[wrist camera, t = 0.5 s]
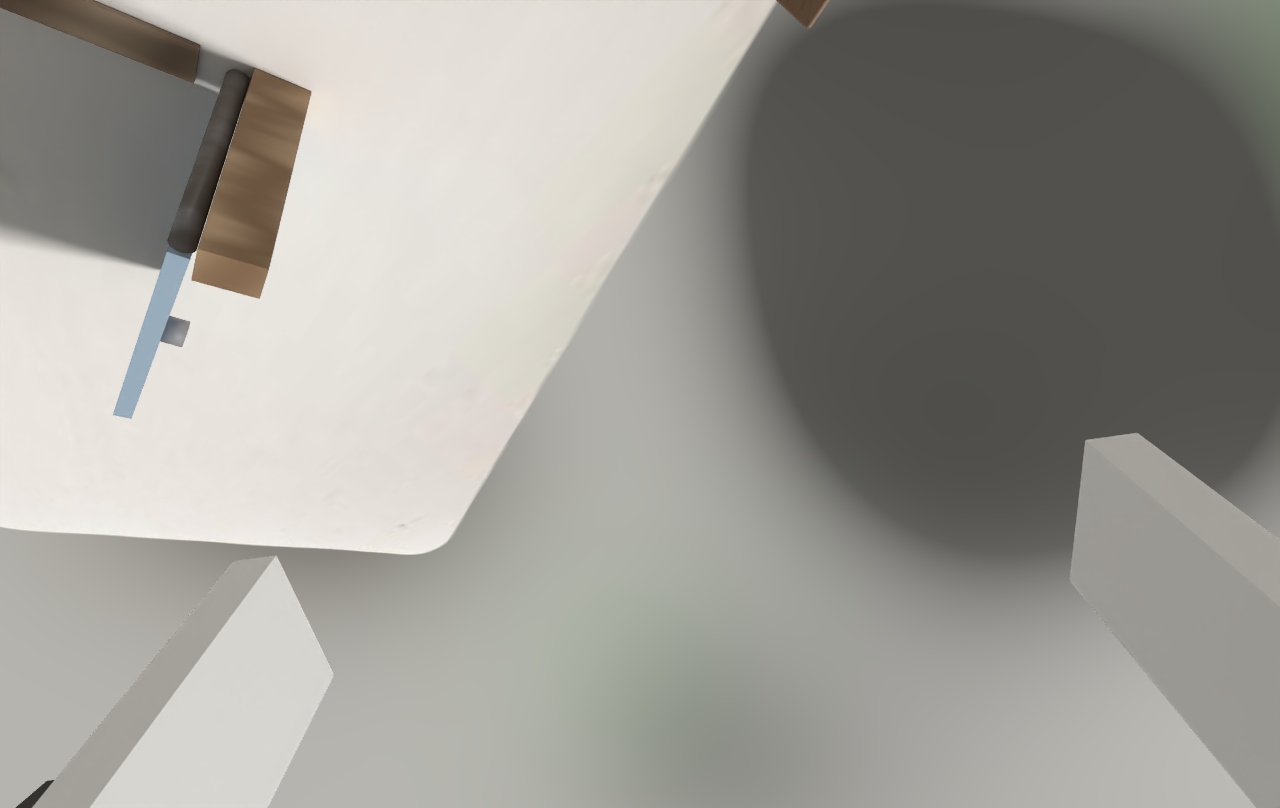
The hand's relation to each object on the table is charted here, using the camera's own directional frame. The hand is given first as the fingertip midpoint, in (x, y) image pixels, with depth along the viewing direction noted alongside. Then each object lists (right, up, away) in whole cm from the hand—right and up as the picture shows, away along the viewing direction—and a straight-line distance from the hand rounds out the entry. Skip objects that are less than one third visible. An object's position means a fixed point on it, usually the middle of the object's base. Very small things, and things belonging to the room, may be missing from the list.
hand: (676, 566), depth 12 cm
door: (-29, +16, +36) cm, 49 cm away
